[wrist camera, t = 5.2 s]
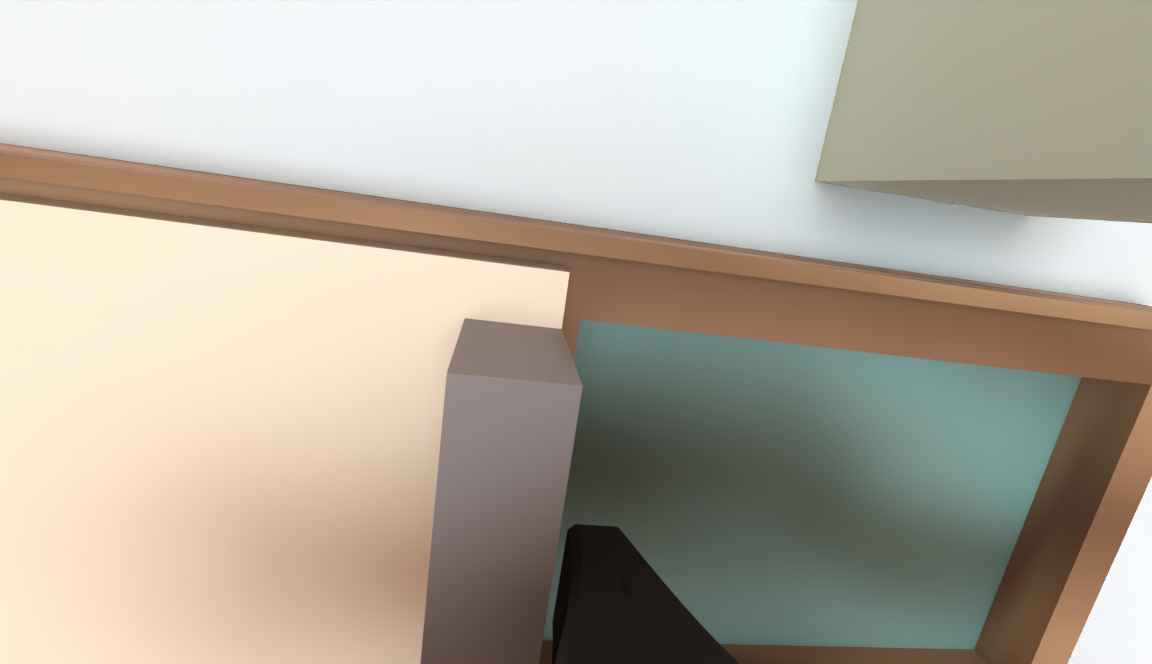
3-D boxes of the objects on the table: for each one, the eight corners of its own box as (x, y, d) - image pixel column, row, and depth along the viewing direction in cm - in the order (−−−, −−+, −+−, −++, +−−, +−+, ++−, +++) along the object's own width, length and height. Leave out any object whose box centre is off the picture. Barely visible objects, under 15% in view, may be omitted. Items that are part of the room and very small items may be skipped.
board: (981, 688, 15) (1062, 774, 13) (-178, 677, 11) (-352, 802, 9) (1139, 304, 12) (1276, 329, 10) (-320, 98, 8) (-623, 67, 6)
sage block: (1027, 215, 12) (1544, 247, 6) (813, 181, 11) (1164, 178, 5) (1117, -49, 10) (1885, -343, 5) (883, -110, 10) (1453, -553, 4)
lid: (500, 728, 11) (496, 931, 8) (-257, 731, 9) (-632, 1000, 6) (565, 266, 9) (594, 307, 6) (-434, 137, 7) (-1180, 98, 4)
